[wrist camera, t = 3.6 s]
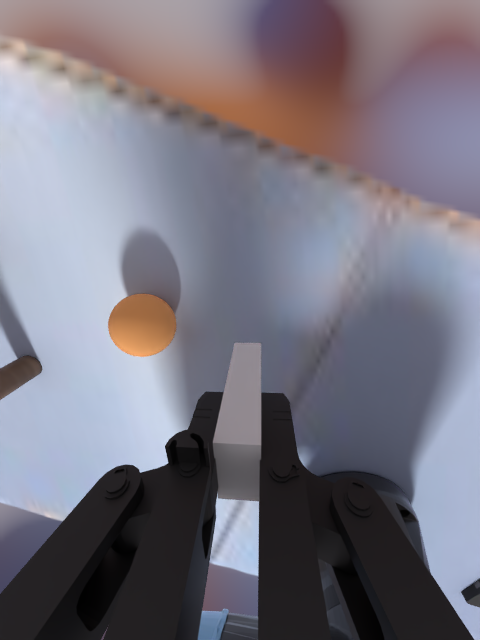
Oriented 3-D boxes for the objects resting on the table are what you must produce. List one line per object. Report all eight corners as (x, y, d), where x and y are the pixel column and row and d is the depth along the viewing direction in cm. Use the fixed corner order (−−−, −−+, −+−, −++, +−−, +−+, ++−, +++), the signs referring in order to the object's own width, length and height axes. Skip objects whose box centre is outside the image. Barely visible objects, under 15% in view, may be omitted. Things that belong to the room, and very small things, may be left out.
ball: (180, 286, 22) (156, 304, 17) (187, 339, 24) (167, 369, 19) (124, 287, 22) (84, 305, 17) (135, 338, 25) (102, 368, 19)
